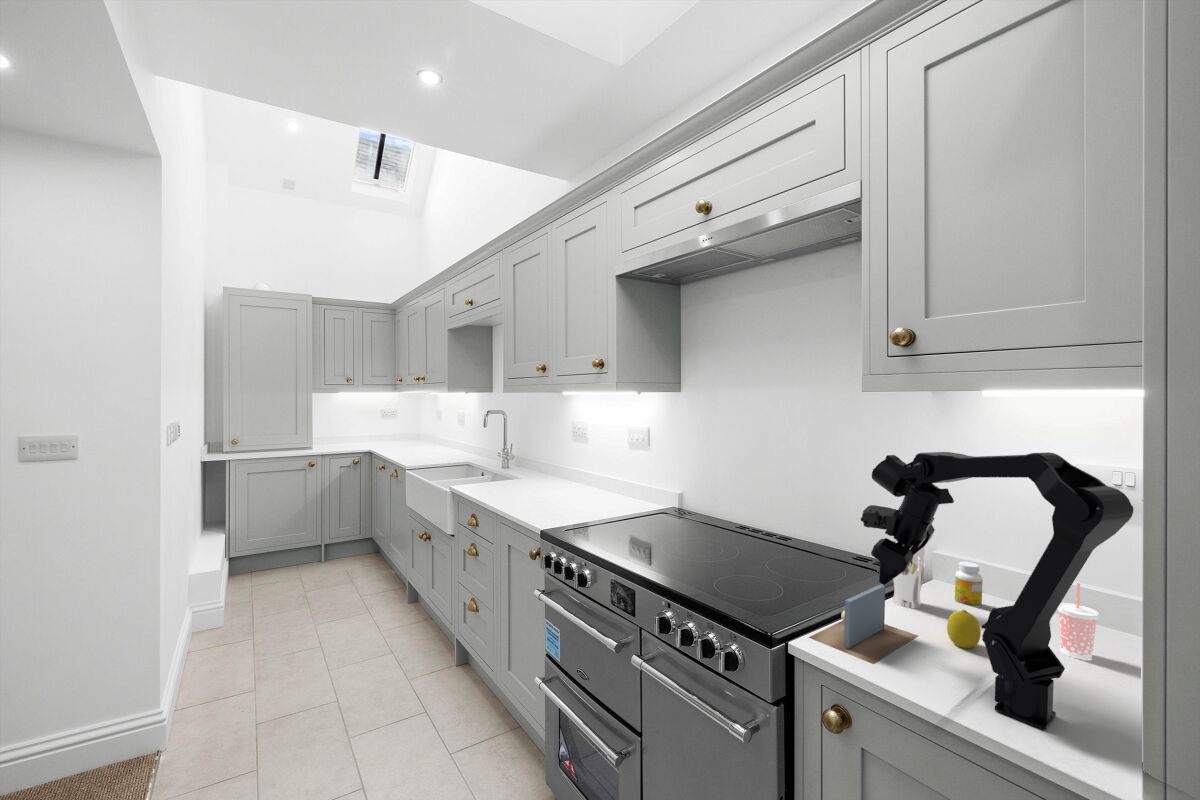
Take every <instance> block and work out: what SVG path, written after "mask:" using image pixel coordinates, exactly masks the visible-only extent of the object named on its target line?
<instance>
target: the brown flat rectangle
mask: <svg viewBox="0 0 1200 800" xmlns="http://www.w3.org/2000/svg"><path fill="white" fill-rule="evenodd" d="M918 637H919V635H918V634H914V633H912V632H908V631H906V630H903V629H900V628H898V627H895V626H891V625H888V624H885V623H884V629H882V630H880V631H878V632H877V633H875V634H873V635H871V636H870V637H868V638H866V639H864V640H862V641H861V642H859V643H857V644H855V645H854V646H852V647H850V648H847V647H845V646H844V620H841V621H839V622H837V623H835V624H833V625H831V626H829V627H827V628H825V629H823V630H820V631H819V632H818V631H817V632H816V633H815V634H813V635H810V636H808V638H809V639H811V640H813V641H815V642H818V643H821V644H823V645H826V646H828V647H831V648H833V649H835V650H837V651H841V652H843V653H845V654H847V655H850V656H853V657H855V658H857V659H859V660H862V661H864V662H868V663H869V664H873V665H875V664H876V663H878V662H880V661H881V660H883V659H884V658H886V657H888V655H891V654H893V653H894V652H895V651H897V650H898V649H900V648H902V647H903V646H905V645H907V644H908V643H909V642H911V641H912V640H915V639H916V638H918Z"/></svg>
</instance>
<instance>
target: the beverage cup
mask: <svg viewBox="0 0 1200 800" xmlns="http://www.w3.org/2000/svg"><path fill="white" fill-rule="evenodd" d="M1080 598H1081V583H1079V582H1077V583H1076V598H1075V599H1076V602H1075V603H1072V602H1071V603H1070V602H1069V603H1067V602H1061V603H1060V605H1059V606H1058V608H1057V611H1058V620H1059V623H1058V625H1059V645H1060V652H1061V653H1062V652H1063V653H1064V654H1066V655H1068V656H1067V657H1069V656H1071V657H1074V658H1078V659H1077V660H1079V659H1083V660H1082V661H1086V660H1085V659H1087V661H1089V660H1088V659H1091V658H1092V659H1093V653H1094V652H1093V651H1094V646H1095V645H1094V644H1095V636H1096V628H1097V621H1098V619H1099V617H1100V613H1099V612H1098V611H1097V610H1096V609H1093V608H1091V607H1087V606H1084V605H1082V604H1081V605H1080V602H1081V601H1080V600H1081V599H1080ZM1063 653H1062V654H1063ZM1064 654H1063V655H1064ZM1066 655H1065V656H1066ZM1071 657H1070V658H1071ZM1074 658H1073V659H1074ZM1092 659H1091V660H1092Z"/></svg>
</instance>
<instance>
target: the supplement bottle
mask: <svg viewBox="0 0 1200 800" xmlns="http://www.w3.org/2000/svg"><path fill="white" fill-rule="evenodd" d="M958 567H959V568H958V569H959V570H957V571H956V572H955V574H954V575H955V577H954V578H955V579H954V580H955V581H954V583H955V584H954V602H955V603H957V604H962V605H965V606H969V607H973V608H974V609H975V608H976V609H980V608H982V603H983V582H984V581H983V577H982V575H981V574H980V573H979V572H980V565H979V564H978V563H975V562H971V561H960V562H959V564H958Z"/></svg>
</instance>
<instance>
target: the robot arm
mask: <svg viewBox="0 0 1200 800" xmlns="http://www.w3.org/2000/svg"><path fill="white" fill-rule="evenodd" d="M972 478H1026V479H1027V478H1028V479H1029V480H1030V481H1032V482H1033V483H1034V485H1035V486H1036V488H1037V489H1038V492H1039V493H1040V495H1041V496H1042V497H1043V499H1045V500H1046V501H1047V502H1048V503H1049V504H1051V506H1052V507H1054V510H1053V513H1052V515H1051V521H1052V523H1051V524H1052V530H1053V534H1052V537H1051V539H1050V541H1049V542H1048V544H1047V546H1046V548H1045V550H1044V551H1043V553H1042V555H1041V557H1040V559H1039V560H1038V562H1037V564H1036V566H1035V567H1034V569H1033V570H1032V572H1031V573H1030V576H1029V578H1028V579H1027V581H1026V583H1025V584H1024V586H1023V588H1022V589H1021V591H1020V593H1019V594H1018V597H1017V598H1016V600H1015V602H1014V603H1013V605H1007V606H1001V607H995V608H992V609H991V611H990V612H989V614H988V618H987V621H986V622H985V623H984V624H982V625H981V626H980V629H984V630H983V631H982V637H981V640H982V642H983V643H984V645H985V648H986V652H987V655H988V659H989V663H990V665H991V670H992V672H993V673H994V674H997V675H996V676H995V680H994V701H995V703H996V704H995V706H994V711H996V712H998V713H1001V714H1003V715H1006V716H1008V717H1010V718H1014V719H1015V720H1018V721H1021V722H1023V723H1025V724H1027V725H1030V726H1033V727H1035V728H1038V729H1040V730H1045V731H1046V729H1047V728H1048V727H1049V726H1050V724H1051V723H1052V722H1053V720H1054V719H1055V717H1057V713H1056V711H1054V710H1053V707H1054V705H1053V704H1054V685H1055V684H1054V683H1055V682H1054V679H1059V678H1061V677H1062V675H1063V674H1064V672H1065V669H1066V667H1065V666H1064V665H1063V663H1062V662H1061V660H1060V659H1059V658H1058V657H1057V655H1056V654H1055V653H1054V651H1053V650H1052V648H1051V647H1050V646H1049V644H1050V641H1051V638H1052V631H1051V624H1050V623H1051V619H1052V618H1053V616H1054V615H1055V612H1056V611H1058V609H1057V608H1058V606H1059V605H1060V603H1063V602H1062V601H1063V600H1064V598H1065V596H1066V595H1067V593H1068V592H1069V590H1070V589H1071V587H1072V586H1073V584H1074V582H1075V580H1076V578H1078V575H1079V573H1081V571H1082V569H1083V568H1084V566H1085V564H1086V563H1087V560H1088V559H1090V558H1089V557H1090V556H1091V554H1092V552H1093V551H1094V550H1095V549H1097V548H1098V546H1100V545H1101V544H1103V543H1105V542H1106V541H1107V540H1109V539H1111V538H1112V537H1113V536H1115V535H1116V534H1117V533H1118V532H1119V531H1120V530H1121V529H1122V528H1123V527H1124V526H1125V525H1126V524H1128V522H1129V521H1130V520H1131V519H1132V517H1133V514H1134V506H1133V505H1132V503H1131V501H1130V499H1129V497H1128V496H1127V495H1126V494H1125V493H1124V492H1122V491H1121V490H1119V489H1118V488H1116V487H1112V486H1109V485H1107V484H1106V483H1104V482H1103V481H1102V480H1100V479H1099V478H1097V477H1096V476H1094V475H1092V474H1090V473H1088V472H1086V471H1084V470H1082V469H1080V468H1078V467H1077V466H1074V465H1073V464H1071V463H1069V462H1068V461H1067V460H1066V459H1065V458H1063V457H1062V456H1061V455H1060V454H1059V455H1058V454H1057V453H1054V452H1050V451H1049V452H1030V453H1028V454H1016V455H1015V454H1014V455H1010V454H1009V455H987V456H986V455H984V456H982V455H980V456H972V455H968V454H964V453H959V452H951V451H933V452H931V451H930V452H919V453H917V454H916V455H915V457H914V458H913V460H912V461H910V462H909V463H906V462H904V461H903V460H902V459H901V458H900V457H898V456H897V455H896V454H889V455H888V454H887V455H886V456H885V459H884V460H882V461H880V462H878V463H877V465H876V466H875V467H874V468H873V469H872V472H871V479H872V480H873V482H874V483H876V484H878V485H879V486H880V487H882V488H883V489H884V490H886V491H887V492H889V493H890V494H891V495H892V496H894V497H895V498H900V497H903V500H902V502H901V504H900V506H899V507H898V509H896V508H892V507H888V506H881V505H875V504H874V505H873V504H872V505H871V504H870V505H868V506H866V507H865V508H864V509H863V510H862V516H861V517H860V521H861V522H862V523H863V526H864V527H865V528H868V529H869V528H873V529H880V530H885V532H884V533H885V534H886V535H887V536H889V537H893V539H894V540H895V541H896V540H897V541H898V542H897V543H895V542H893V540H891V539H890V538H887V537H885V538H881V539H879V540H878V541H877V542H876V543H874V545H873V547H872V549H871V552H870V555H871V556H872V557H874V558H875V559H876V560H878V561H879V574H878V575H879V576H878V577H879V578H878V580H879V581H878V582H879V584H883V585H885V586H886V585H887V584H888V583H890V581H891V582H892V581H893V579H894V578H895V577H896V576H898V575H899V574H901V573H902V572H904V571H905V570H906V569H907V568H908V566H909V564H910V563H911V561H912V559H913V555H914V554H916V553H917V552H918V551H919V550H920V549H922V548H923V547H924V546H926V545H927V544H928V542H929V541H930V540H931V538H933V535H934V533H935V528H934V526H933V522H934V521H935V517H934V516H935V515H936V513H937V510H938V508H939V506H940V505H948V504H954V503H955V500H954V497H953V496H952V495H951V493H950V491H949V489H948V488H940V487H938V486H937V485H935V484H939V483H940V484H941V483H943V484H945V483H953V482H960V481H964V480H967V479H968V480H969V479H972ZM924 548H925V547H924Z"/></svg>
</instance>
